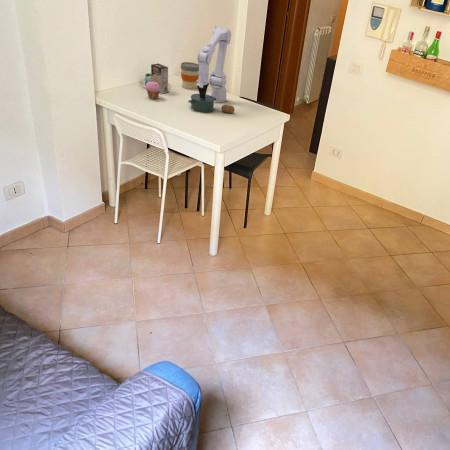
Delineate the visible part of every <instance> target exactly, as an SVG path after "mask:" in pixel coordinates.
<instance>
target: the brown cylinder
mask: <svg viewBox="0 0 450 450" xmlns="http://www.w3.org/2000/svg"><path fill="white" fill-rule="evenodd" d="M220 109H221V110H220V111H222V112H223V113H225V114H226V113H227V114H233V113H235V110H236V109H235V107H234V105H230V104H222V105H221V107H220Z"/></svg>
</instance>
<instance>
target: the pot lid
mask: <svg viewBox="0 0 450 450" xmlns="http://www.w3.org/2000/svg"><path fill="white" fill-rule="evenodd" d="M191 98H192V99H193V100H196V101H200V102H212V101H214V100H215V98H214V97H213V96H211V94H207V93H206V95H204V98H200V95H199V93H193V94H191V95H190V99H191Z"/></svg>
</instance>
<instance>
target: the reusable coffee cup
mask: <svg viewBox="0 0 450 450" xmlns="http://www.w3.org/2000/svg"><path fill="white" fill-rule="evenodd" d="M180 75H181V77H180V78H181V81H182V87H183V88H184V89H187V90H196V89H198V88H197V86H198V82H196V80H199V65H198V63H195V62H190V61H189V62H188V61H184V62H181V63H180Z"/></svg>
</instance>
